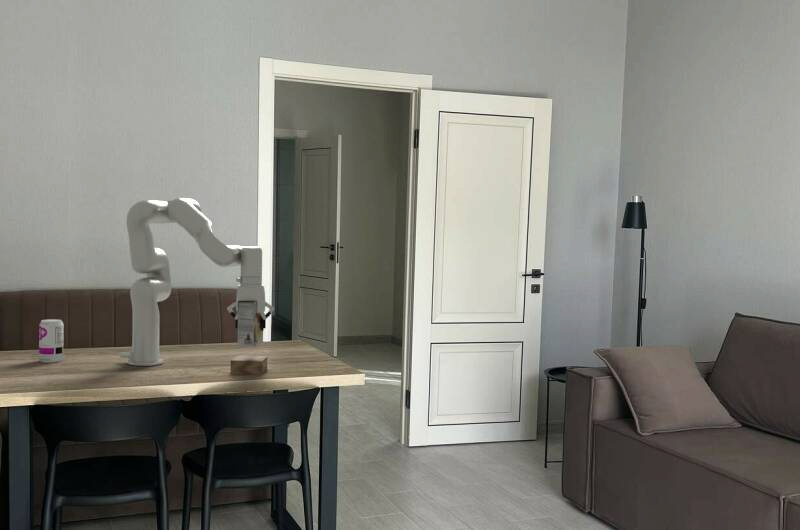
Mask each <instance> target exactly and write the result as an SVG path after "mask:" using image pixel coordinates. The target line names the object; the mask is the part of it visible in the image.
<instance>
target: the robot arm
mask: <svg viewBox="0 0 800 530" xmlns="http://www.w3.org/2000/svg"><path fill="white" fill-rule="evenodd" d="M151 224H177V225H179V226H180V227H181V228H182V229H183V230H184V231H185V232H186V233H187V234H188V235H190V236H191V237H192V238H193V239H194V240H195V243H196V244H197V246H198V248H199V250H200V251H201V252H202V253H203V254H204V255H205V256H206V257H207V258H209V259H210V260H211V262H213V263H214V264H216V265H217V266H218V267H222V268H229V267H230V268H231V267H238V266H240V277H236V282H238V283H239V284H238V285H237V290H236V299H235V300H236V301H234V302H232V303H231V304H230V305H229V306H227V307H226V310H227V311H228V313H229V315H231V317H232V318H234V320H235V327H234V329H237V332H238V301H257V313H258V314H260V315H261V316H262V330H261V331H263V332H264V331H265V329H266V328H267V327H266V323H267V322H266V321H267V319H268V318H269V317H270V316H271V315H272V314H273V312H274V311H275V307H274V306H273V305H271V304H270V303H268V301H266V291H265V285H264V284H263V249H262V248H261V247H260V246H242V245H226V244H224V243H223V242H222V240H220V239H219V238H218V237H217V236H216V235H215V234H214V232H213V230H212V228H213V223H212V221H211V220H209V218H207V216H205V215H204V214H203V213H202V208H201V205H200V204H199V202H198V201H197V200H195V199H193V198H186V197H178V198H174V199H173V200H155V199H144V200H140V201H138V202H136V203H134V204H133V205H132V206H131V207H130V208H129V210H128V212H127V215H126V228H127V233H128V243H129V244H128V246H129V255H130V262H131V268H132V270H133V271H134V272H135V273H137V274H143V275H146V277H141V278H138V279H137V280H135V281H134V282H133V283H132V284H131V287H130V294H129V295H130V300H131V308H132V310H131V311H132V336H131V337H132V344H131V347H132V348H131V351H128V352H125V351H121V352H120V353H119V358H122V359H125V358H127V359H128V360H127V364H128V365H131V366H136V367H137V366H138V367H140V366H141V367H147V366H148V367H149V366H158V365H162V364H163V363H164V359H163V358H161V357H160V331H161V330H160V324H161V321H160V319H161V318H160V317H161V316H160V315H161V314H160V310H159V309H160V308H159V306H158V305H159V304H158V302H163V301H165V300H167V299H168V298H169V297H170V295H171V293H172V280H171V279H172V278H171V268H170V267H171V266H170V260H169V257H168V255H167V253H166V252H165V251H164V250H163V249H161V248H159V247H155V244H154V235H153V232H152V230H151V228H150V225H151ZM235 307H236V308H235ZM233 308H235V309H236V310H235V311H236V312H237V313H235V312H234V310H233ZM266 308H268V309H269V310H268V311H267V312H266ZM265 312H266V313H265Z"/></svg>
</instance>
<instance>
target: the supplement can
mask: <svg viewBox="0 0 800 530" xmlns="http://www.w3.org/2000/svg"><path fill="white" fill-rule="evenodd" d="M64 324H65V323H64V322H63V320H62V319H58V318H57V319H54V318H52V319H51V318H50V319H49V318H48V319H42V320H41V321H40V323H39V326H38V331H39V332H38V338H39V339H38V360H39V361H40V362H41V363H45V364H46V363H47V364H50V363H51V364H52V363H60V362H62V360H64V341H65V340H64V335H65V333H64V328H65V327H64Z"/></svg>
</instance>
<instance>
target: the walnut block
mask: <svg viewBox="0 0 800 530" xmlns="http://www.w3.org/2000/svg"><path fill="white" fill-rule="evenodd" d="M268 358H269V357H268V356H267V355H266V356H265V355H242V354H241V355H236V356H235V357H233V358H232V359H230V373H233V375H255V374H257V375H263V374H264V373H265V372H266V371H267V370H268V361H269V360H268Z"/></svg>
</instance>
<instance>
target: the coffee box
mask: <svg viewBox="0 0 800 530" xmlns="http://www.w3.org/2000/svg"><path fill="white" fill-rule="evenodd" d="M237 313H238V331H237V346H238V347H253V348H254V347H257V346H260V345H261V344H264V331H261V330H262V316H261V315H260V314H258V313H257V301H238V312H237Z"/></svg>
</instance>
